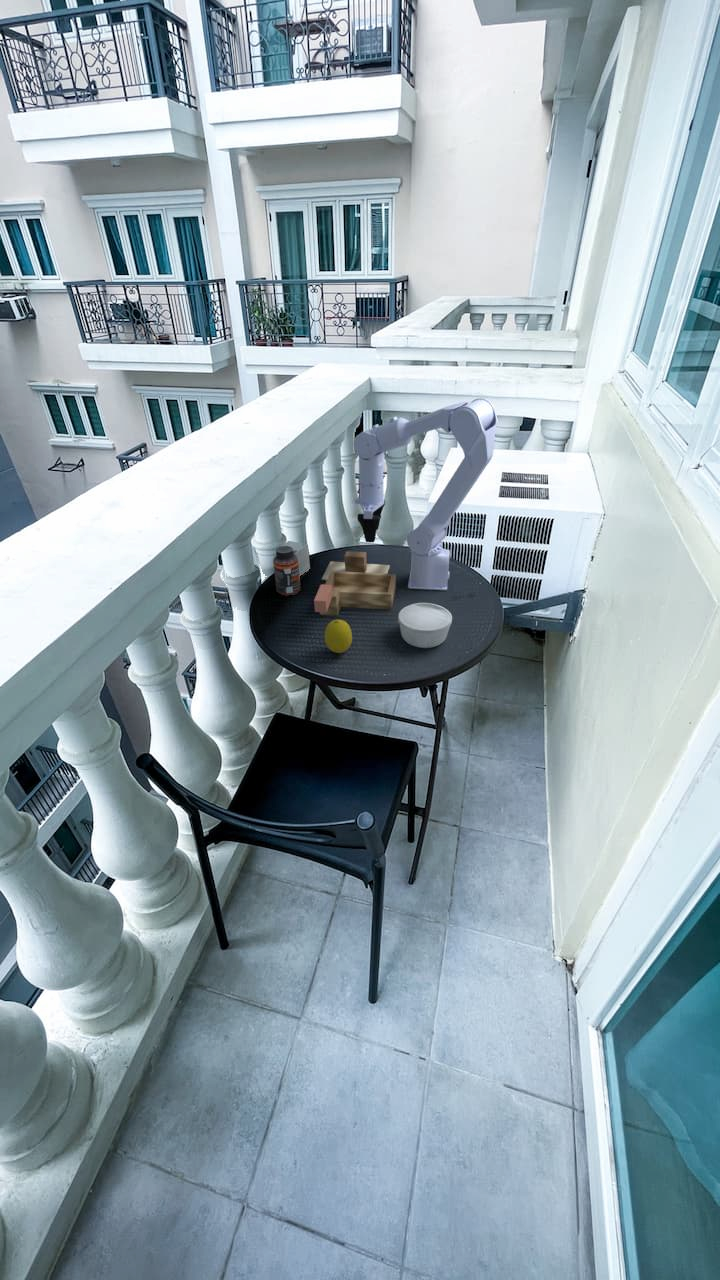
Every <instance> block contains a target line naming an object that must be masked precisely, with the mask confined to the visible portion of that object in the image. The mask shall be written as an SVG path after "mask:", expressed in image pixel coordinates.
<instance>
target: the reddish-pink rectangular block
mask: <svg viewBox="0 0 720 1280" xmlns="http://www.w3.org/2000/svg"><path fill="white" fill-rule="evenodd" d="M332 597H333V592H332V585H325V584H324V583H323V584H320V585H319V588H318V590H317V593H316V595H315V597H314V599H313V605H314V612H315V613H320V612H326V613H327V610H328V607H329V605H330V602H331V599H332Z"/></svg>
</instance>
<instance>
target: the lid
mask: <svg viewBox="0 0 720 1280" xmlns="http://www.w3.org/2000/svg"><path fill="white" fill-rule="evenodd" d="M390 566H391V565H390V564H378V563H377V564H376V563H367V551H365V552H364V551H351V550H349V551H346V552H345V554H344V561H330V562H329V564H328V565H327V567H326V569H325V571H324V573H323V575H322V576H321V581H323V580H325V582H327V579H328V577H329V574H330V572H331V571H340V572H361V573H383V574H389V573H388V572H389V570H390Z"/></svg>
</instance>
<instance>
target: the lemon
mask: <svg viewBox="0 0 720 1280" xmlns="http://www.w3.org/2000/svg"><path fill="white" fill-rule="evenodd" d="M352 632H353V631H352V629H351V627H350V625H349V624H348V623H347V621H345V620H342V619H334V620H331V621H330V622H329V623H328V624H327V626H326V628H325V630H324V642H325V645H326V646H327V648H328V649H329V650H330V651H332V652H333V653H337V654H341V653H344V652H346V651H347V650H348V649H349V648H350V647H351V646H352V645H351V644H352V642H353V633H352Z"/></svg>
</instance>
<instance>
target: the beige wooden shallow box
mask: <svg viewBox="0 0 720 1280" xmlns="http://www.w3.org/2000/svg"><path fill="white" fill-rule="evenodd" d="M396 578H397V574H396V573H387V574H383V573H361V572H340V571H331V572H330V574H329V577H328V579H327V581H325V584H324V585H332V592H333V597H332V599H331V602H330V605H329V607H328V610H327V613H326V612H319V614H320V616H333V617H334V616H335V617H337V616H338V615H339V612H340V609H341V608H352V609H353V608H354V609H355V608H356V609H357V608H358V609H371V610H390V611H391V610H393V609H392V608H393V604H394V599H395V594H396V587H397V585H396V583H397V582H396V580H397V579H396Z"/></svg>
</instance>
